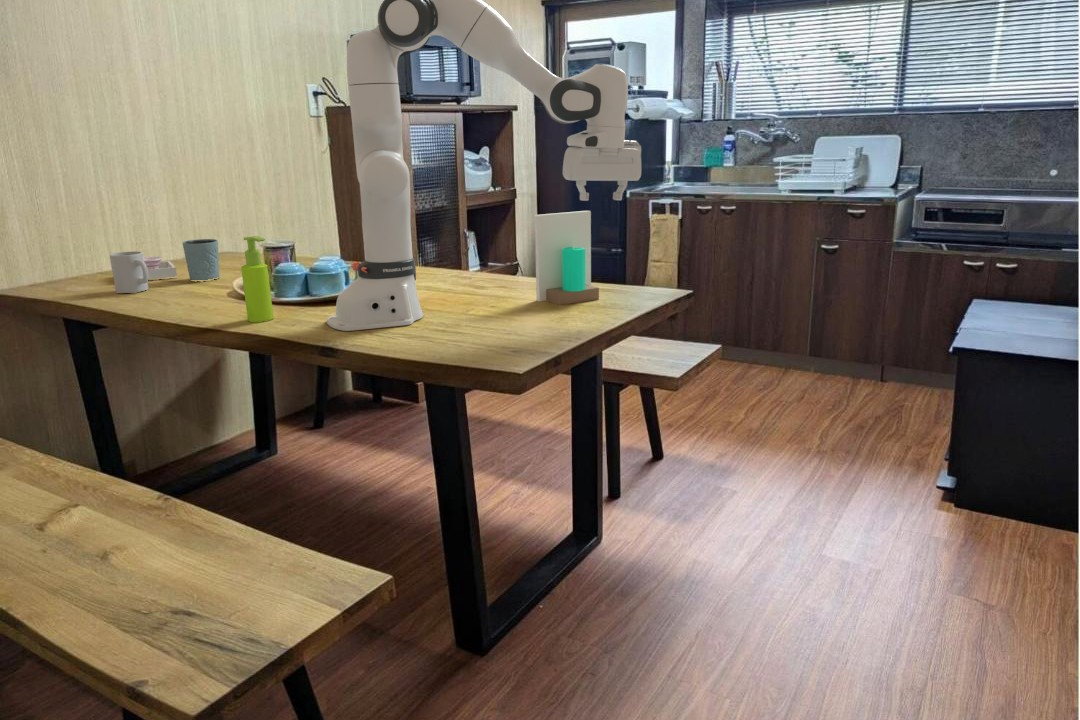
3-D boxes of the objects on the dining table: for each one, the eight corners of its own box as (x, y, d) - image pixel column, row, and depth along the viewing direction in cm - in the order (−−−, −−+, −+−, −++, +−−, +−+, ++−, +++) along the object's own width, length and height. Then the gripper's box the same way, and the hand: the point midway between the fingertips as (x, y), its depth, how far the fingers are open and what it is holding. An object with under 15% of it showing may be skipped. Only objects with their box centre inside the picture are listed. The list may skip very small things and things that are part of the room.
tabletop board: (553, 306, 197) (551, 217, 191) (536, 300, 204) (534, 215, 197) (605, 298, 205) (605, 213, 198) (587, 293, 211) (587, 210, 205)
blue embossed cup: (204, 276, 249) (199, 238, 246) (230, 277, 246) (225, 239, 242) (180, 282, 240) (174, 242, 237) (207, 283, 237) (201, 243, 233)
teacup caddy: (121, 284, 239) (119, 272, 238) (118, 276, 252) (116, 265, 251) (177, 278, 246) (175, 267, 245) (171, 271, 259) (169, 260, 258)
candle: (582, 291, 198) (582, 244, 195) (559, 291, 200) (559, 244, 196) (587, 287, 204) (587, 241, 200) (565, 286, 205) (564, 240, 202)
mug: (109, 292, 226) (102, 254, 223) (136, 287, 233) (129, 250, 230) (136, 296, 220) (130, 257, 217) (163, 290, 228) (157, 252, 224)
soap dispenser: (261, 324, 185) (251, 239, 179) (242, 320, 188) (231, 237, 183) (281, 318, 190) (271, 236, 184) (262, 315, 193) (252, 234, 187)
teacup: (152, 273, 257) (149, 254, 255) (180, 275, 252) (177, 256, 251) (121, 280, 246) (118, 260, 244) (149, 282, 242) (146, 262, 240)
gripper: (633, 139, 188) (628, 198, 192) (560, 137, 178) (557, 199, 182) (649, 141, 183) (644, 201, 187) (575, 139, 173) (571, 202, 177)
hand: (600, 200), depth 185 cm, fingers open, 8 cm apart
